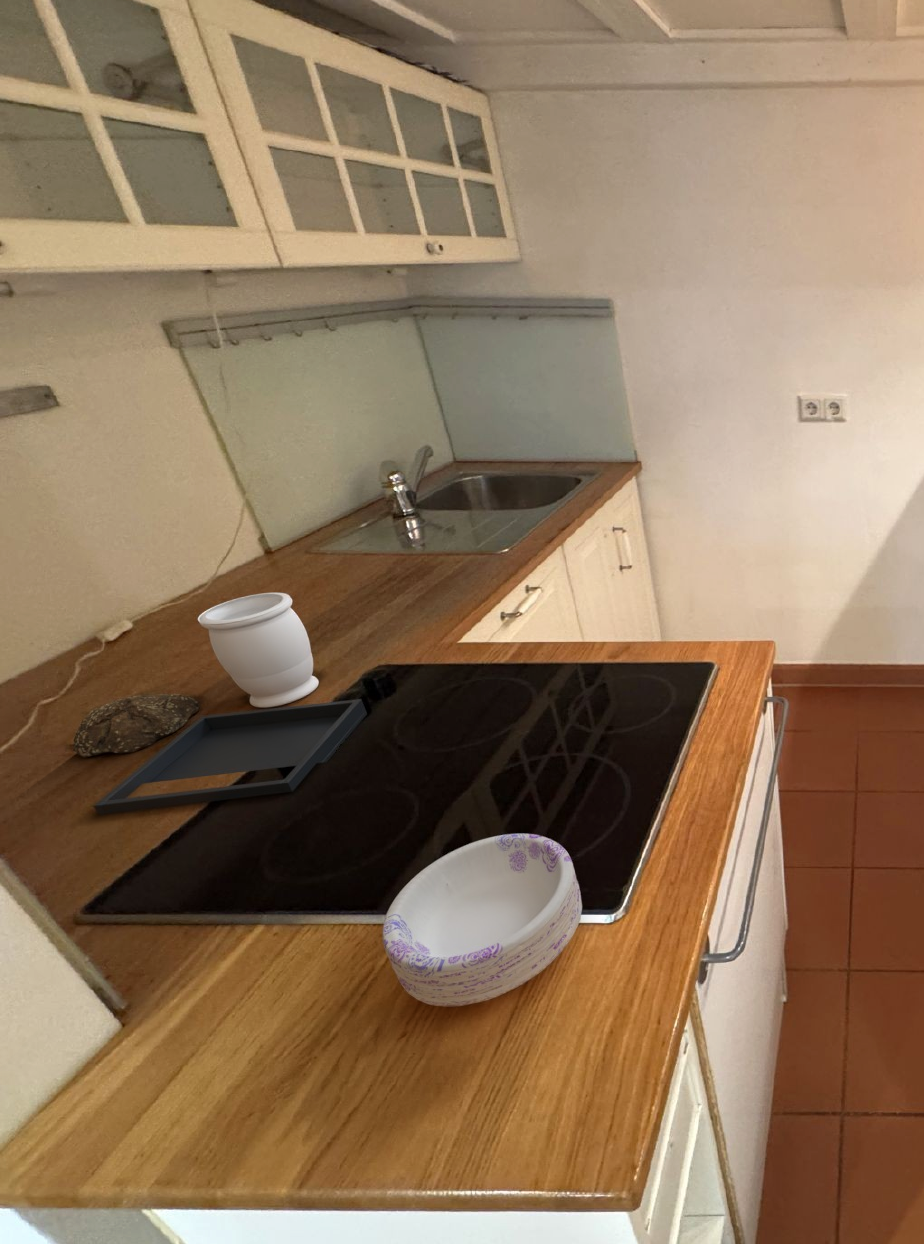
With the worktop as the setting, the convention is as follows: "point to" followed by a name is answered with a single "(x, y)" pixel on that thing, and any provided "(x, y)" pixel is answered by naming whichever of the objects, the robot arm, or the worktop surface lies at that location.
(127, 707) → the bread roll
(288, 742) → the bread tray
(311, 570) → the worktop surface
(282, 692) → the jar
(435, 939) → the paper bowls
